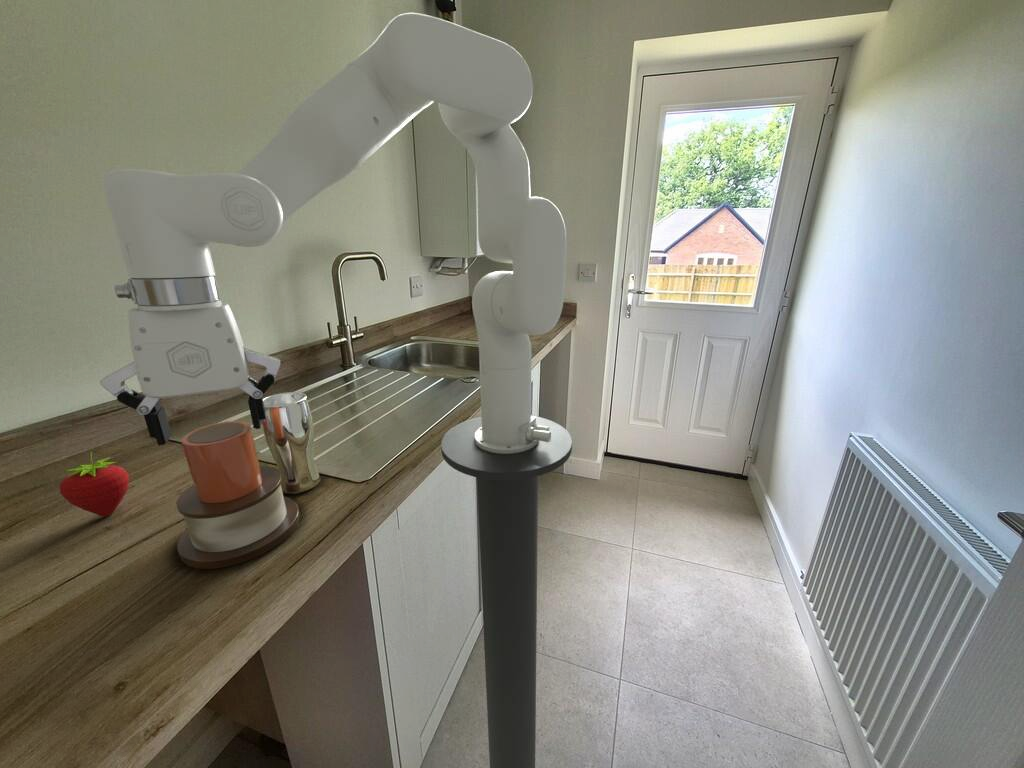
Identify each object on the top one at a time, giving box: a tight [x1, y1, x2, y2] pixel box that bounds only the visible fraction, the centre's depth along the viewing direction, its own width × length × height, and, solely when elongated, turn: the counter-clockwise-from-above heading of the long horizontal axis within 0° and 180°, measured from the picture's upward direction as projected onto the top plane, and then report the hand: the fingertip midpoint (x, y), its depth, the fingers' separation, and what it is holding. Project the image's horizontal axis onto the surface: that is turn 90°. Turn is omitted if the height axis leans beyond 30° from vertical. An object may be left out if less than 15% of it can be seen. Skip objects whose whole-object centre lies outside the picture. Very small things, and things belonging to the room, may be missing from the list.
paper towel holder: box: [176, 464, 301, 570], centre depth 55 cm, size 14×14×7 cm
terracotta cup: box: [180, 420, 263, 503], centre depth 53 cm, size 7×7×8 cm
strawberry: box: [59, 451, 130, 518], centre depth 58 cm, size 6×8×10 cm
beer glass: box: [261, 391, 321, 495], centre depth 65 cm, size 7×7×15 cm
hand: (213, 432), depth 51 cm, fingers open, 9 cm apart
